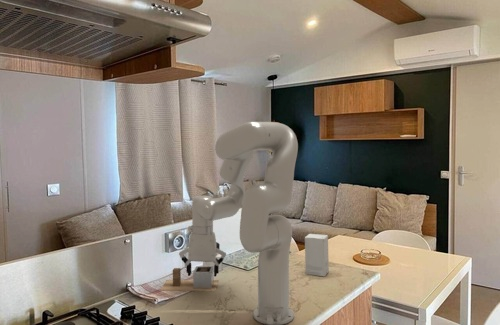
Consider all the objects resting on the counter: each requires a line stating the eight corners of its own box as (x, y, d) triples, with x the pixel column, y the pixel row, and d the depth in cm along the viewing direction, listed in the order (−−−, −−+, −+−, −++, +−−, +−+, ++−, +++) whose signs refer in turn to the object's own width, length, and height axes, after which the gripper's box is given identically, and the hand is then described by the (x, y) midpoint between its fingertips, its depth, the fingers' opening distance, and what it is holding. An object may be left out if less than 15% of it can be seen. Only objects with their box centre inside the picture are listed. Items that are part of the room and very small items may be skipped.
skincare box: (329, 272, 157) (329, 235, 156) (324, 277, 151) (324, 238, 150) (309, 269, 161) (309, 232, 160) (304, 274, 155) (304, 236, 154)
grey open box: (211, 288, 138) (211, 272, 137) (193, 288, 138) (193, 272, 138) (213, 282, 144) (213, 266, 144) (196, 281, 145) (196, 266, 144)
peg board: (215, 293, 136) (215, 274, 136) (160, 293, 137) (159, 274, 136) (218, 282, 146) (218, 264, 146) (166, 282, 147) (166, 264, 146)
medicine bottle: (222, 273, 157) (222, 244, 156) (205, 274, 155) (204, 245, 154) (219, 267, 163) (219, 240, 163) (202, 269, 162) (202, 241, 161)
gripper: (177, 231, 136) (177, 278, 138) (225, 232, 136) (224, 279, 137) (181, 226, 144) (181, 270, 145) (227, 227, 143) (226, 271, 145)
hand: (202, 274), depth 141 cm, fingers open, 9 cm apart
